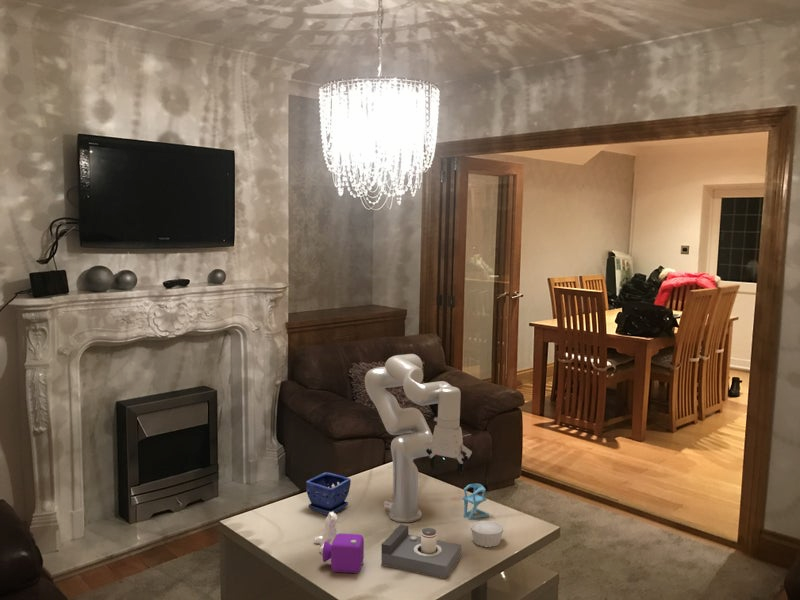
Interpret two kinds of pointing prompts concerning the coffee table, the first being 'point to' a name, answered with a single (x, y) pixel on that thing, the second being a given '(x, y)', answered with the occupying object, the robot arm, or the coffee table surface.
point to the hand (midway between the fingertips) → (446, 470)
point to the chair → (474, 501)
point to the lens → (428, 541)
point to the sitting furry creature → (328, 530)
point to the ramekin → (486, 533)
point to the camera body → (418, 554)
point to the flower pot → (328, 492)
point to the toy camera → (345, 552)
